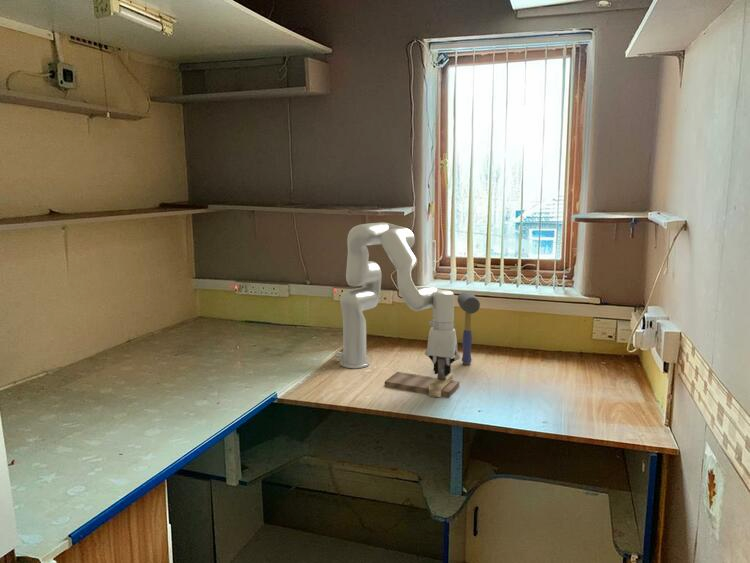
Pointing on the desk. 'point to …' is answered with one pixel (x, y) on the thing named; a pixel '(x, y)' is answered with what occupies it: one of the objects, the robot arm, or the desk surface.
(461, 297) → the rubber mallet
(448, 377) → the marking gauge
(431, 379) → the walnut board
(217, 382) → the desk surface
